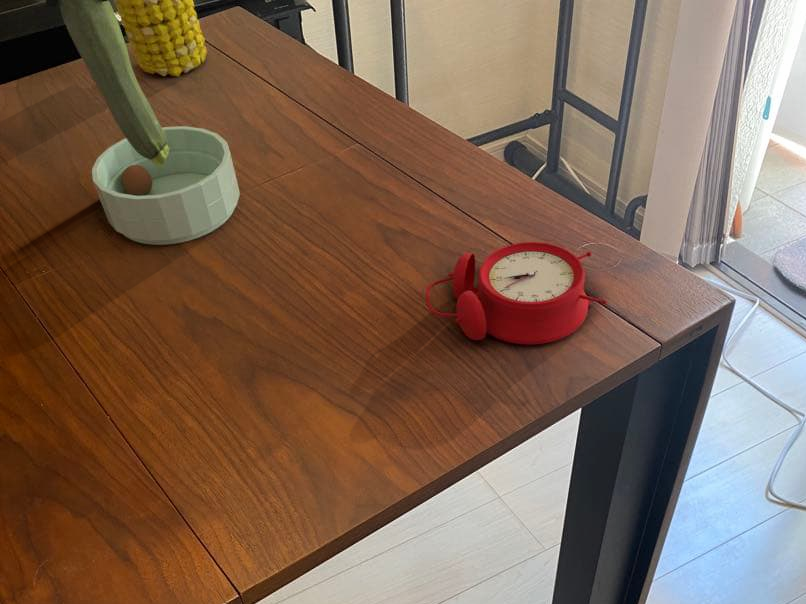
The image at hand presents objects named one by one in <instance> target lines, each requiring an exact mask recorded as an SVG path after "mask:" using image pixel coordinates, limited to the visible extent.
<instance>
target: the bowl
mask: <svg viewBox="0 0 806 604" xmlns="http://www.w3.org/2000/svg"><path fill="white" fill-rule="evenodd" d="M162 129H163V131H164V133H165V136H166V140H167V143H166V144H167V146H168V148H169V152H168V157H167V158H166V160H165V162H164V167H161V166H159V165H157V164H155V163H154V162H152V160H150V159H147V158H145V157H143V156H141V155H140V154H139V153H138V152H136V150H135V149H134V148H133V147H132V145H131V144H130V143H129V141H128V140H127V138H126V137H125V138H123V139H122V140H120V141H118V142H116V143H113V144H112V145H111V146H109V147H108V148H107V149H105V150H104V151H103V152H102V153H101V154H100V155H99V156H97V158H96V160H95V162H94V163H93V166H92V168H91V178H92V182H93V185H94V189H95V190H96V193H97V195H98V198H99V201H100V203H101V206H102V209H103V211H104V215H105V217H106V219H107V221H108V224H110V226H111V227H112V228H113V229H114V230H115V231H116V232H117V233H119V234H121V235H123V236H124V237H125V238H127V239H129V240H131V241H133V242H137V243H140V244H144V245H154V246H155V245H156V246H162V245H163V246H164V245H165V246H166V245H175V244H180V243H186V242H190V241H192V240H195V239H199V238H201V237H203V236H206V235H208V234H210V233H212V232H214V231H215V230H216V229H218V228H220V227H221V226H222V225H224V224H225V223H226V222H227V221H228V220H229V219H230V218H231V216H232V214H233V213H234V211H235V209H236V208H237V205H238V202H239V200H240V199H239V198H240V196H241V193H240V188H239V184H238V179H237V176H236V170H235V167H234V163H233V159H232V154H231V151H230V147H229V144H228V141H226V140H225V139H224V138H223V137H222V136H221V135H220V134H218V133H216V132H214V131H211V130H209V129H205V128H201V127H194V126H186V125H184V126H183V125H182V126H181V125H179V126H165V127H163V126H162ZM131 165H139V166H142V167H143V168H145V169H146V170H147V171H148V172H149V173H150V175H151V178H152V188H151V190H150V192H149V193H148V194H147V195H145V196H135V195H130V194H128V193H127V192H126V191H125V189H124V188H123V185H122V182H121V177H122V173H123V171H124V170H125V169H126V168H127V167H129V166H131Z"/></svg>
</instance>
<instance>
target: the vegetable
mask: <svg viewBox="0 0 806 604" xmlns="http://www.w3.org/2000/svg"><path fill="white" fill-rule="evenodd" d="M59 7H60V8H59V11H60V14H61V17H62V20H63V23H64V25H65V27H66V30H67V31H68V34H69V36H70V38H71V40H72V42H73V44H74V46H75V48H76V50H77V52H78V53H79V56H80V57H81V59H82V61H83V63H84V64H85V66H86V68H87V69H88V71H89V74H90V76H91V78H92V79H93V81H94V83H95V85H96V87H97V88H98V90H99V92H100V94H101V96H102V97H103V99H104V102H106V105H107V107H108V109H109V111H110V113H111V115H112V117H113V119H114V121H115V123H116V124H117V126H118V128H119V129H120V131H121V133H122V135H123V136H124V137H125V138H127V140H128V141H129V143H130V144H131V145H132V147H133V148H134V149H135V150H136V152H138V153H139V154H140V155H141V156H143V157H145V158H147V159H150V160H152V162H154V163H155V164H157V165H159V166H161V167H164V162H165V160H166V158H167V157H168V152H169V148H168V146H167V144H166V143H167V140H166V136H165V133H164V131H163V129H162V128H163V126H162V125H161V124H160V122H159V120H158V118H157V116H156V114H155V113H154V110H153V108H152V107H151V104H150V102H149V101H148V99H147V96H146V95H145V93H144V92H143V89H142V88H141V86H140V84H139V81H138V80H137V76H136V75H135V72H134V70H133V69H134V68H133V67H132V63H131V59H130V55H129V52H128V48H127V44H126V41H125V39H124V36H123V33H122V30H121V27H120V24H119V21H118V18H117V15H116V13H115V11H114V9H113V7H112V5H111V3H110V1H109V0H108V1H103V2H102V0H59Z"/></svg>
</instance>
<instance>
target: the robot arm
mask: <svg viewBox="0 0 806 604" xmlns="http://www.w3.org/2000/svg"><path fill="white" fill-rule="evenodd" d="M103 1H109V0H102V2H103ZM58 2H59V0H45V3H46V6H47V7H48V8H55V7H56V5H57V4H58Z"/></svg>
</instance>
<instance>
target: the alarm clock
mask: <svg viewBox="0 0 806 604" xmlns="http://www.w3.org/2000/svg"><path fill="white" fill-rule="evenodd" d="M591 256H592V252H591V250H588V251H587V252H586V253H584V254H582V255H579V256H576V254H574V253H572V252H571V251H569V250H568V249H566V248H564V247H562V246H559V245H555V244H552V243H548V242H541V241H526V242H525V241H524V242H518V243H513V244H509V245H506V246H503V247H501V248H499V249H497V250H494V252H492V253H491V254H489V255H488V256H487V257H486V259H485V260H484V261H483V262H482V264H481V266H480V268H479V272H478V275H477V278H478V287H474V284H475V276H476V257H475V253H473V252H466V253H464V254H462V255H461V256H460V257H459V258H458V259H457V261H456V264H455V266H454V270H453V272H449V273H448V277H445V278H442V279H439V280H435V281H434V282H432V283H431V284H430V285H429V286H428V288H427V289H426V293H425V302H426V305H427V308H428V309H429V311H430V312H431V313H432V314H434V315H436V316H439V317H446V318H447V317H449V318H450V317H452V318H455V319H454V321H455V323H458V325H459V326H460V329H461V330H462V332H463V333H464V334H465V336H466V337H467V338H468V339H469V340H472V341H480V340H483V339H485V338H486V335H487V334H488V335H490V336H492V337H493V338H496V339H498V340H500V341H504V342H507V343H510V344H511V343H512V344H520V345H543V344H547V343H553V342H555V341H559V340H561V339H563V338H566V337H567V336H570V335H572V333H574V332H575V331H577V330H578V329H579V328H580V327H581V326H582V325H583V323H584V322H585V320H586V318H587V316H588V311H589V307H590V309H591V307H592V304H591V302H597V303H601V305H603V306H604V305H606V304H607V300H606V298H605V299H604V298H603V299H599V298H594V297H593V296H589V295H587V294H586V292H585V290H584V285H585V281H586V276H585V275H586V273H585V270H584V266H583V264H582V261H581V260H582V259H584V258H586V257H591ZM450 281H452V289H453V294H454V297H455V298H456V299H457V302H456V308H455V309H456V310H455V311H456V313H442V312H438V311H437V310H435V309H434V308H433V307H432V305H431V302H430V292H431V290H432V288H433V287H435V286H436V285H439V284H441V283H444V282H450ZM474 292H475V293H474Z"/></svg>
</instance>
